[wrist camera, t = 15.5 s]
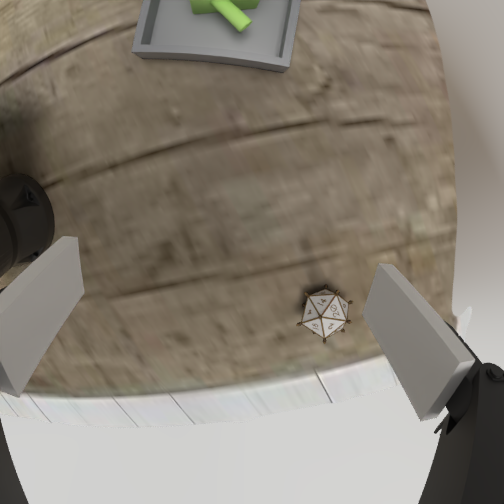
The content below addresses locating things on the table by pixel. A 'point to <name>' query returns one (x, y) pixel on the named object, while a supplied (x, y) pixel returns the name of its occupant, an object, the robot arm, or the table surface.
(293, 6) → the gray tray
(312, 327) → the game die
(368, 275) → the table surface
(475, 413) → the robot arm
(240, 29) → the green handled block
